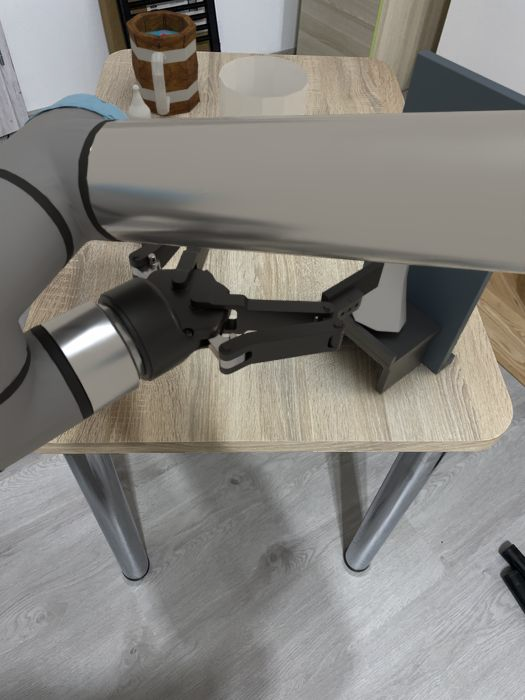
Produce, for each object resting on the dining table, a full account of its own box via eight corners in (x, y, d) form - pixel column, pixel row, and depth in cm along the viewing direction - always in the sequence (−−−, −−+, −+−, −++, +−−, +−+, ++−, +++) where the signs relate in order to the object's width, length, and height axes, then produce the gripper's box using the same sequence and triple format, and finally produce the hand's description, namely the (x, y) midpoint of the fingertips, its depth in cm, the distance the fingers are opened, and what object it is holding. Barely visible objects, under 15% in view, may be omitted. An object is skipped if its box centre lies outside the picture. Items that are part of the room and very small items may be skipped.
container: (297, 154, 105) (308, 58, 91) (298, 199, 96) (310, 100, 82) (223, 150, 105) (222, 53, 91) (217, 195, 96) (215, 95, 82)
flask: (346, 324, 65) (371, 253, 59) (351, 292, 70) (374, 224, 64) (405, 340, 65) (437, 270, 58) (405, 307, 70) (434, 239, 64)
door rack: (387, 413, 69) (493, 163, 41) (303, 337, 76) (344, 80, 48) (452, 362, 75) (585, 111, 46) (368, 295, 82) (439, 44, 54)
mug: (140, 84, 120) (130, 8, 108) (201, 85, 120) (198, 11, 109) (129, 131, 108) (117, 52, 96) (197, 132, 108) (193, 54, 97)
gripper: (55, 284, 49) (239, 199, 58) (220, 485, 38) (417, 341, 47) (31, 217, 43) (239, 134, 52) (217, 431, 32) (443, 278, 41)
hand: (323, 231), depth 49 cm, fingers open, 13 cm apart
